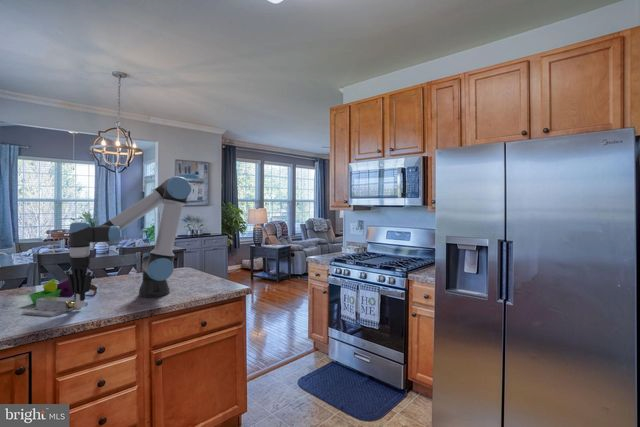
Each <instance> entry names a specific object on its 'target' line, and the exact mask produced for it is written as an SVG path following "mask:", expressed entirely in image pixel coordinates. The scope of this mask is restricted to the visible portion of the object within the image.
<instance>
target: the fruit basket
mask: <svg viewBox="0 0 640 427" xmlns="http://www.w3.org/2000/svg"><path fill="white" fill-rule="evenodd" d="M57 284H58V283H57V280H56V279H55V278H54V279H50V280H49V281H47V282H46V283H45V284H43V287H42V288H43V290H40V291H37V292H34V293H33V292H32V293H29V297H30V300H31V303H32V304H33V305H36V300H37V299H40V298H44V297H60V292H61V289H57Z"/></svg>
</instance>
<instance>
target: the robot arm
mask: <svg viewBox="0 0 640 427" xmlns="http://www.w3.org/2000/svg"><path fill="white" fill-rule="evenodd" d="M152 190H153V191H152V193H150V194H148V195H146V196H145V197H143V198H142V199H141V200H139V201H137V202H136V203H134V204H132V205H131V206H130V207H128V208H126V209H124V210H123V211H121V212H119V213H118V214H116V215H115V216H114V217H112V218H111V219H109V220H107V221H106V222H104V223H102V224H100V225H98V226H91V223H90V222H86V221H82V222H79V221H77V222H76V221H75V222H72V223H70V224H69V256H70V257H69V265H70V266H71V267H70V269H68V270H67V271H65V275H66V276H67V279H68V280H69V284H70V289H71V292H74V294H75V297H74V298H75V300H76V308H81V309H82V308H84V307H85V306H84V302H85V300H86V294H87V293H88V292H90V291H91V290H90V285H91V284H92V281H93V280H92V279H93V276H94V275H95V271H93V270H92V271H91V269H90V266H89V265H90V263H91V256H90V255H91V243H114V242H119V241H120V240H121V232H122V231H123V230H124V229H125V228H127V227H128V226H130V225H132V224H134V223H135V222H136V221H138V220H140V219H141V218H142V217H144V216H146V215H147V214H149V213H150V212H152V211H153V210H155V209H157V208H158V207H159V206H161V205H163V209H162V213H161V219H160V222H159V227H158V231H157V236H156V241H155V243H154V244H155V245H154V249H152V250H151V251H150V252H144V253H143V254H142V257H141V261H142V262H141V263H142V264H141V265H142V273H141V274H142V277H141V278H142V279H141V280H142V281H141V284H140V287H139V290H138V296H139V297H140V298H156V297H157V298H158V297H162V296H166V295H168V294H170V291H171V290H170V286H169V283H168V281H167V279H169V278H170V277H171V276H172V275H173V273H174V268H175V266H174V260H175V253H174V252H173V249H174V247H175V240H176V237H177V236H176V235H177V231H178V226H179V222H180V218H181V214H182V209H183V207H184V206H186V205H187V202H188V201H187V200H188V197H189V196H190V194H191V192H192V185H191V183H190V181H189V180H188V179H187V178H185V177H183V176H172V177H170V178H168V179H166V180H164V182H162V183H161V184H160V185H158V186H157V187H156V188H154V189H152Z"/></svg>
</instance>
